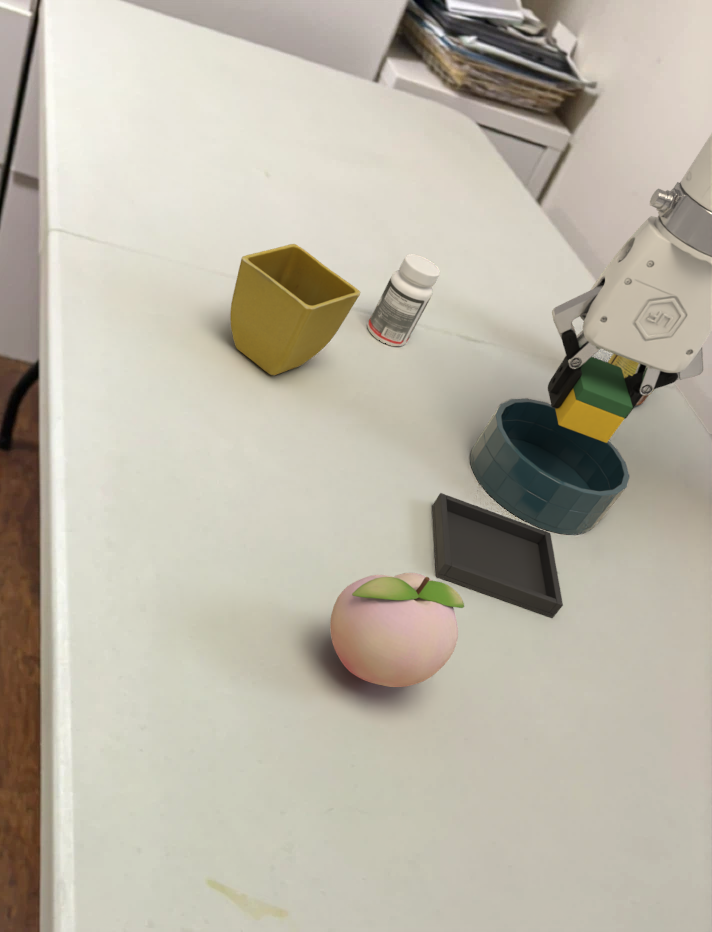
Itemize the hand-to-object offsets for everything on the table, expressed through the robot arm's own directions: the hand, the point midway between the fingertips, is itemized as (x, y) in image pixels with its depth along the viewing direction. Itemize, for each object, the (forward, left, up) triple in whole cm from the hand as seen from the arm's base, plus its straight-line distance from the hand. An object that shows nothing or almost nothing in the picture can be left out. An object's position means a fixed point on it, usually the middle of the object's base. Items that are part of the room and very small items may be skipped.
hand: (581, 408), depth 102 cm
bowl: (-1, 0, -9) cm, 9 cm away
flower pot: (+28, -5, -9) cm, 30 cm away
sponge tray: (+5, +15, -9) cm, 18 cm away
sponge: (0, 0, -1) cm, 1 cm away
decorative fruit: (+17, +35, -9) cm, 40 cm away
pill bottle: (+15, -19, -9) cm, 26 cm away
